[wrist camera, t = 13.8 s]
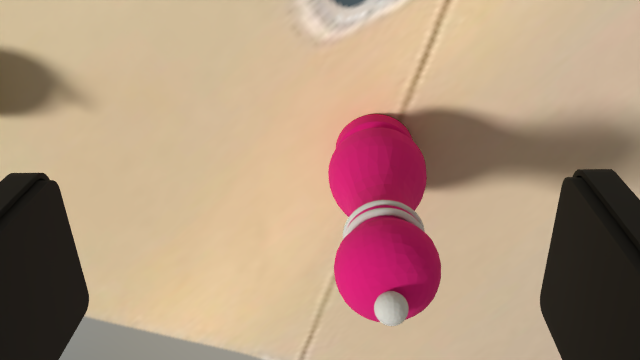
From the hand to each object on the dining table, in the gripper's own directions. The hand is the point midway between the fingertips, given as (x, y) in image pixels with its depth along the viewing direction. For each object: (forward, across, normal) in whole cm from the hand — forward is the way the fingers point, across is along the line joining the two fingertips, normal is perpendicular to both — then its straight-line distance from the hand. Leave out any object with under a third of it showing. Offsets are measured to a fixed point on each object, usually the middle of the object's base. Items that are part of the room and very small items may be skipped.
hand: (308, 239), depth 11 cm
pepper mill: (+34, -3, +14) cm, 36 cm away
